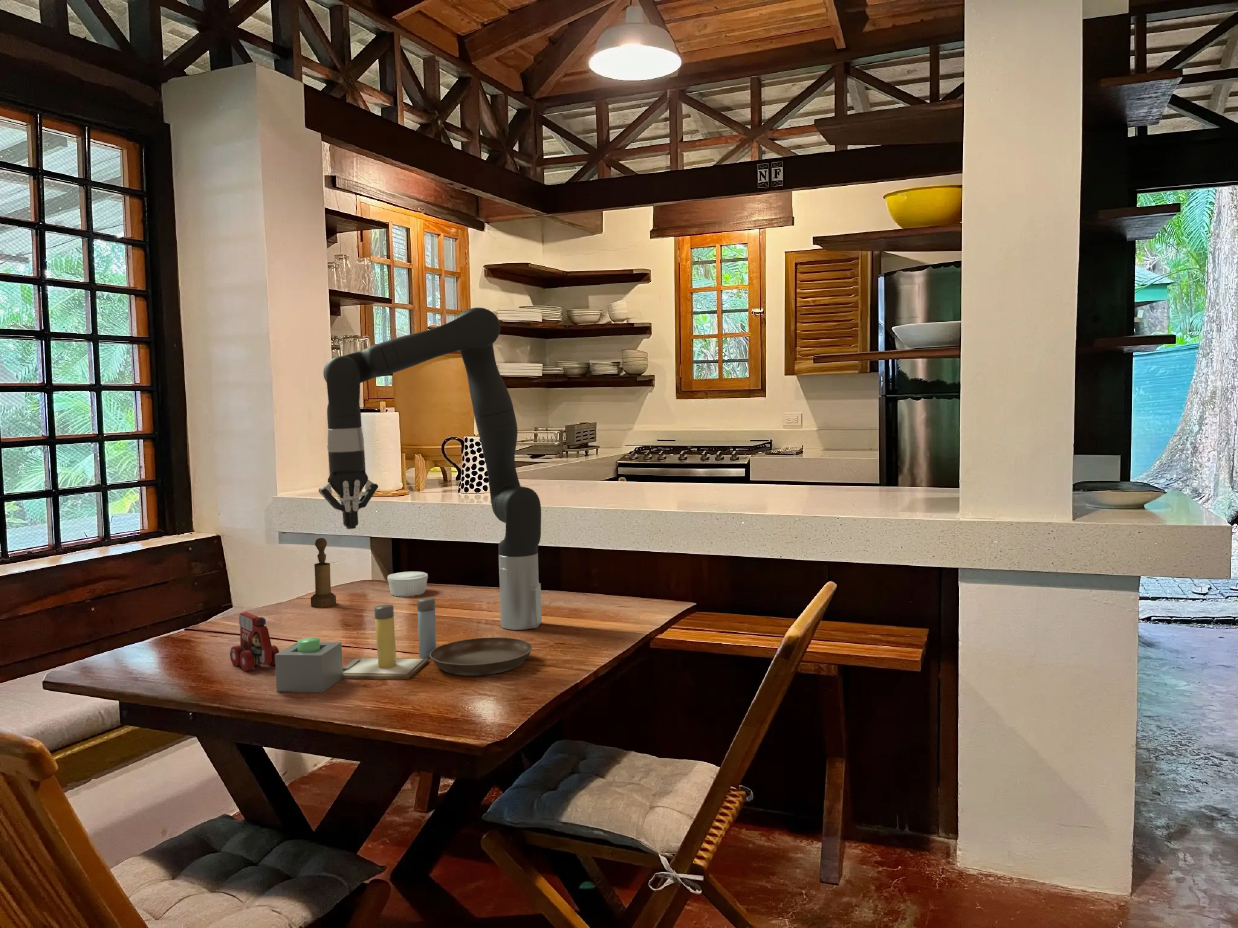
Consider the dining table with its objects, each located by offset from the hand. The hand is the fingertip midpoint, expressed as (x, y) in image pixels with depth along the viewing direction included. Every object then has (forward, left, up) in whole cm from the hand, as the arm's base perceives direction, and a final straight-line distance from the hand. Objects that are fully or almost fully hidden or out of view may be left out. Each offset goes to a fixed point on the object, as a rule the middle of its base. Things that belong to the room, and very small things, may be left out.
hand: (351, 528), depth 197 cm
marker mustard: (-13, +16, -25) cm, 33 cm away
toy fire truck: (+16, +14, -27) cm, 34 cm away
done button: (-2, +26, -22) cm, 34 cm away
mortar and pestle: (+26, -40, -27) cm, 54 cm away
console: (-2, +26, -26) cm, 37 cm away
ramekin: (+8, -55, -27) cm, 61 cm away
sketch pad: (-12, +16, -26) cm, 33 cm away
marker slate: (-18, +6, -26) cm, 33 cm away
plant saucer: (-31, +11, -27) cm, 43 cm away
